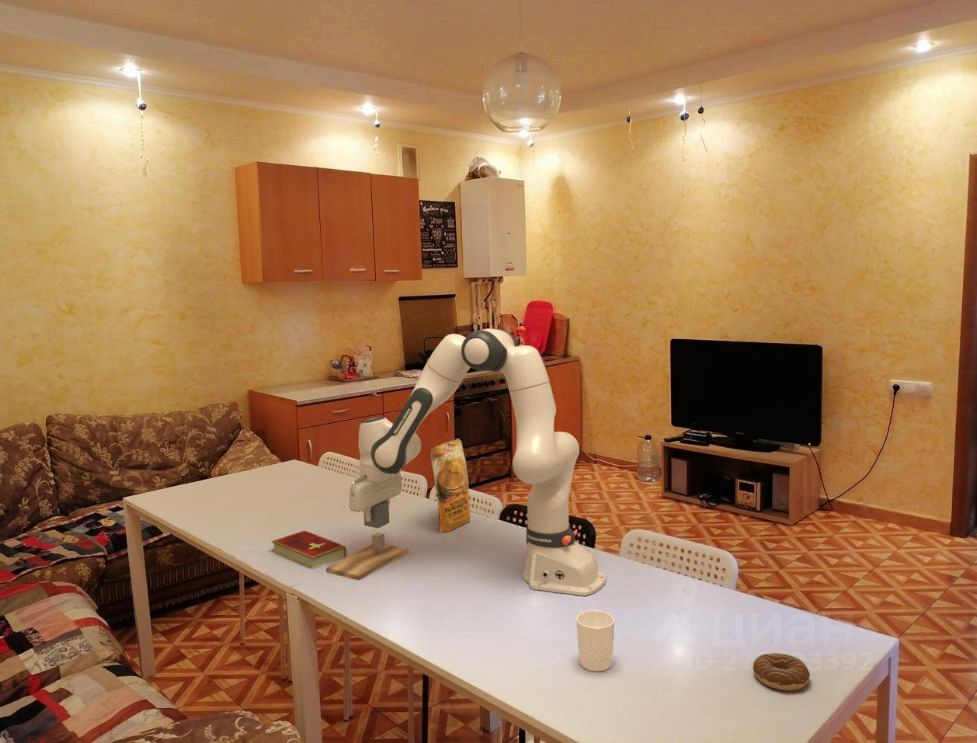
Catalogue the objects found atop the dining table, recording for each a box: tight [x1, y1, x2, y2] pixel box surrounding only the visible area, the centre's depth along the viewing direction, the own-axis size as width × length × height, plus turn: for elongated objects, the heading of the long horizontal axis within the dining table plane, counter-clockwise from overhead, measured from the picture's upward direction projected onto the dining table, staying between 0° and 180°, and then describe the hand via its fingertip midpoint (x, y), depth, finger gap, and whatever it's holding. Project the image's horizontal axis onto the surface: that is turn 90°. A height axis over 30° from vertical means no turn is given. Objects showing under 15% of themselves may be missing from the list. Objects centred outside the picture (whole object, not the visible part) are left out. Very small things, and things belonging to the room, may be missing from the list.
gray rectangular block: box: [363, 501, 390, 529], centre depth 213 cm, size 5×5×7 cm
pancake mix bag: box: [429, 437, 471, 534], centre depth 237 cm, size 7×19×28 cm, turn 144°
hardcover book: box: [271, 530, 347, 569], centre depth 217 cm, size 12×21×4 cm, turn 48°
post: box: [371, 532, 386, 554], centre depth 214 cm, size 3×3×6 cm
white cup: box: [576, 609, 615, 672], centre depth 153 cm, size 8×8×10 cm
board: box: [326, 543, 409, 581], centre depth 210 cm, size 12×22×1 cm, turn 149°
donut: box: [752, 652, 811, 692], centre depth 145 cm, size 11×11×4 cm
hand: (376, 517), depth 213 cm, fingers closed on gray rectangular block, 5 cm apart
